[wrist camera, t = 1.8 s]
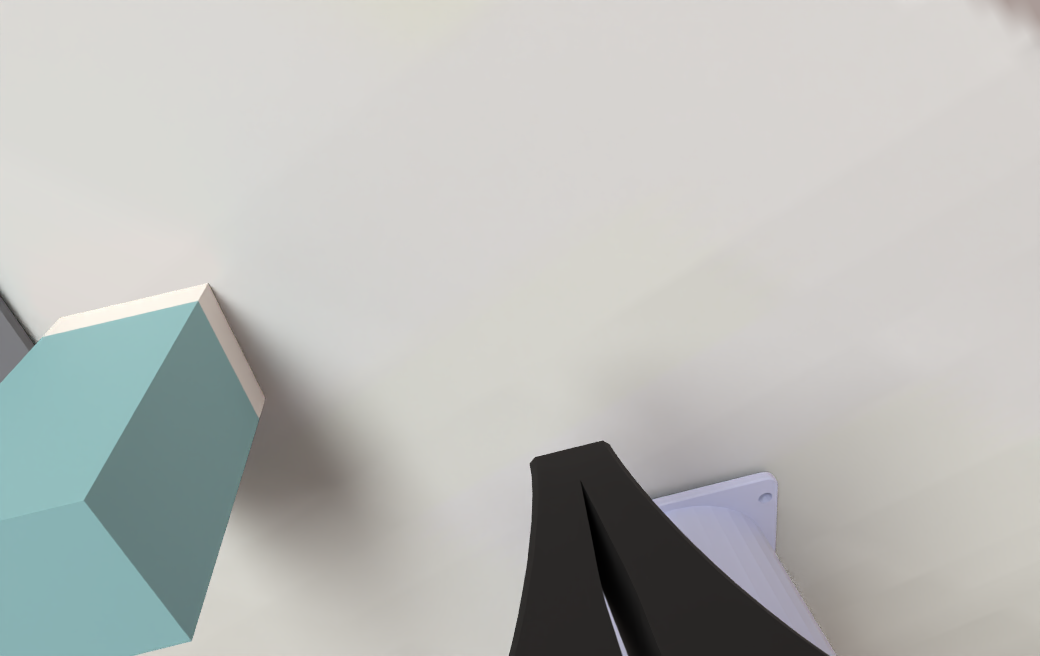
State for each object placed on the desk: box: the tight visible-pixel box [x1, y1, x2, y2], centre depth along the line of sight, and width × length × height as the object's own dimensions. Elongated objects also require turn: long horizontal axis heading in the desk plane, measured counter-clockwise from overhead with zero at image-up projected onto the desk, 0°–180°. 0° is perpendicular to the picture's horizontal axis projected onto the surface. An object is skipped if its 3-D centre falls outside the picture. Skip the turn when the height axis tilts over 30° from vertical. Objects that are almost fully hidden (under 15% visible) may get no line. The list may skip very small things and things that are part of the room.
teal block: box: [0, 283, 266, 656], centre depth 15 cm, size 4×4×8 cm
